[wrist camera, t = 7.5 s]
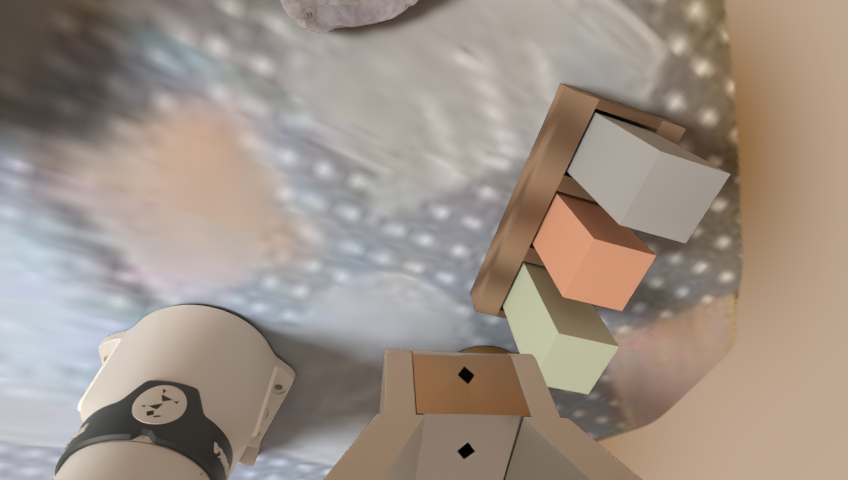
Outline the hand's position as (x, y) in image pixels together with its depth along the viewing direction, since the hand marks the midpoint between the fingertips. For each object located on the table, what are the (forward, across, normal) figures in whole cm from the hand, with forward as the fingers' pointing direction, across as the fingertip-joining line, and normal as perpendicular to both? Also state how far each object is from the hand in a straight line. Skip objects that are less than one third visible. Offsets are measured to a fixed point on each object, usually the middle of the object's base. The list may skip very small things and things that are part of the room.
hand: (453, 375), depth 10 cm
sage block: (+29, -14, +17) cm, 36 cm away
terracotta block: (+30, -15, +10) cm, 35 cm away
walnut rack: (+31, -15, +10) cm, 36 cm away
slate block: (+29, -17, +3) cm, 33 cm away
